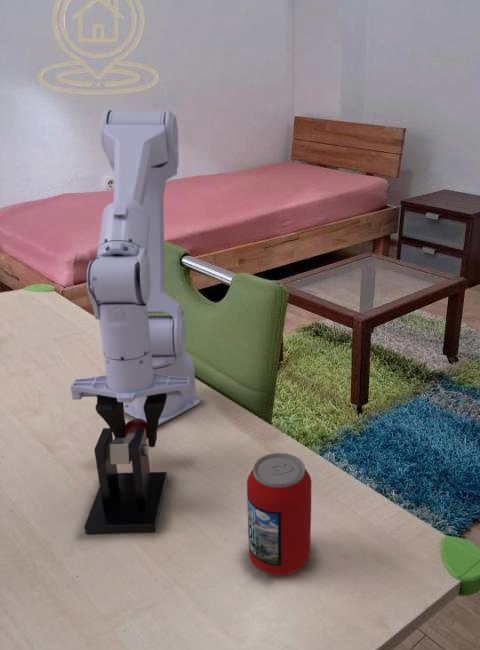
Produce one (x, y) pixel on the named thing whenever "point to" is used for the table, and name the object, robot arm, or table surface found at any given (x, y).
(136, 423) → the lever
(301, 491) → the beverage can
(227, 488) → the table surface
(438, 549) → the table surface
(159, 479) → the bracket
